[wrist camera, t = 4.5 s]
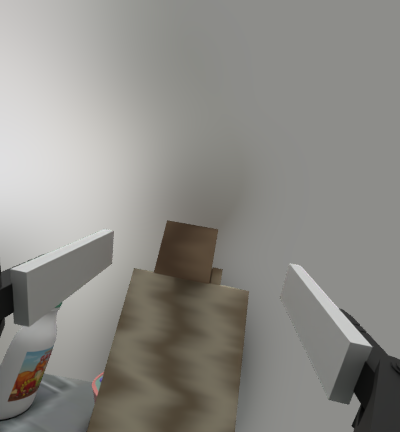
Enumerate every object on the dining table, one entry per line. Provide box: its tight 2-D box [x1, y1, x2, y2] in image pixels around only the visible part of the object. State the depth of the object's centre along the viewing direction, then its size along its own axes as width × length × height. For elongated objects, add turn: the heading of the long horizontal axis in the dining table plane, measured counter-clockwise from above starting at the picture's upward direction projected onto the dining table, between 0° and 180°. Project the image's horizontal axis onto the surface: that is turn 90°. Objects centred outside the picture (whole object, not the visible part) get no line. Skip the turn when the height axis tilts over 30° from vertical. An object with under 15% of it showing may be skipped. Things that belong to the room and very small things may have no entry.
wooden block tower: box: [87, 268, 249, 432], centre depth 19 cm, size 12×9×32 cm
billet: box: [154, 221, 218, 284], centre depth 22 cm, size 4×20×4 cm, turn 179°
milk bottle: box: [0, 302, 62, 420], centre depth 40 cm, size 8×8×20 cm
